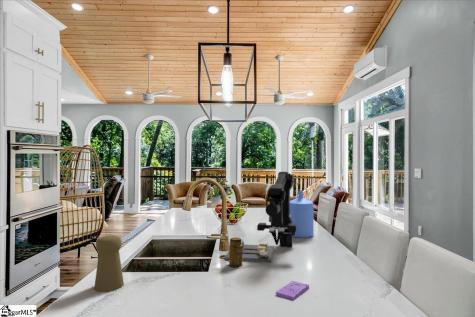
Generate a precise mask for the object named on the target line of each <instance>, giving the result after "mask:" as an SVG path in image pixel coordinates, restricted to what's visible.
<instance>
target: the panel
mask: <svg viewBox="0 0 475 317" xmlns="http://www.w3.org/2000/svg"><path fill="white" fill-rule="evenodd" d="M258 246H259V244H258V245H257V244H245V241H243V242H242V262H252V263H253V262H254V263H256V262H257V263H271V261H272V260H273V259H272V258H273V255H274V252H275V248H276V247H275V246H276V245H268V249H267V251H268V255H265V257H262V255H259V254H257V247H258ZM224 260H225V261H229V251H228V252H227V253H226V255H224Z"/></svg>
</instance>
